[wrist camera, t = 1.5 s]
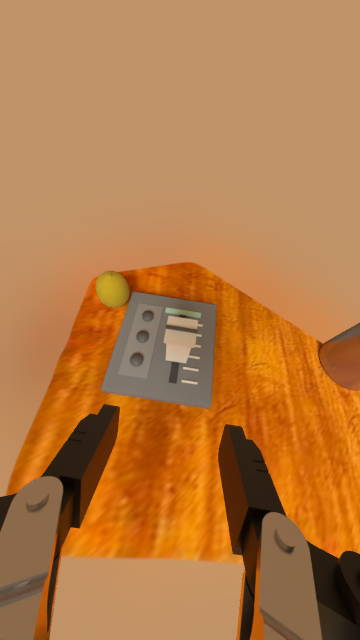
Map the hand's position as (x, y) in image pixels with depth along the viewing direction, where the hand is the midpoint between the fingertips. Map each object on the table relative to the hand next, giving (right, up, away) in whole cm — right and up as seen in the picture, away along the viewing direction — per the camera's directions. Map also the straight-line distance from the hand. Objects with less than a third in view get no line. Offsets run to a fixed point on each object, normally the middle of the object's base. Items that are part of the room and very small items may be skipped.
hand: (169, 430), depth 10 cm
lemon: (-11, +8, +29) cm, 32 cm away
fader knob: (0, 0, +22) cm, 22 cm away
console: (-2, +1, +25) cm, 25 cm away
